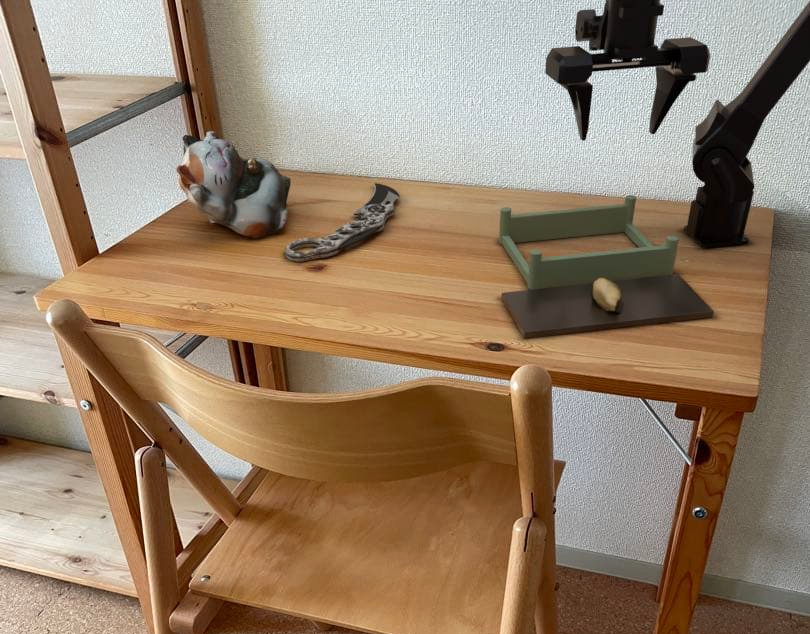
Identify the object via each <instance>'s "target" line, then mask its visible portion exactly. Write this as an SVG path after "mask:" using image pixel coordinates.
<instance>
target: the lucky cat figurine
mask: <svg viewBox="0 0 810 634" xmlns="http://www.w3.org/2000/svg"><path fill="white" fill-rule="evenodd" d="M182 141H183V148H182V149H183V155H182V156H183V157H182V159H183V160H182V162H181V165H180V164H179V165H178V166H176V172H177V173H178V184H179V187H180V189H181V190H182V191H183V193H185V196H186V198H187V201H188V202H189V204H191V205H192V206H193V208H195V209H196V210H197V211H198V212H199V213H201V214H203V215H204V216H206V217H207V219H208V220H209V223H210V224H213V223H214V224H215V223H216V224H219V225H221V226H224V227H227V228H229V229H231V230H233V231H234V232H236V233H237V234H240V235H243V236H245V237H247V238H250V239H254V240H256V239H260V238H264V237H268V236H273V235H274V234H275V233H277V231H278V230H280V229H283V227H284V225H285V224H286V222H287V220H288V217H289V216H288V215H289V214H288V213H289V210H288V208H287V202H288V198H289V193H290V189H291V185H292V184H291V183H292V182H291V181H292V180H291V177H288V176H286V175H282V174H281V173H280V172H279V170H278V169H277V168H276V167H275V165H274V164H273V163H272V162H270V161H269V160H267V159H265V158H262V157H250V158H249V157H248V158H243V157H241V156H240V154H239V153H238V151H237V149H236V147H235V146H234V145H233V144H232V143H231V142H230V141H228V140H225V139H221V138H220V137H219V136H218V134H217V133H216V131H213V130H209V131H207V132H206V135H205V136H204V138H203V139H200V138H198V137H195V136H193V135H190V134H184V135H182Z"/></svg>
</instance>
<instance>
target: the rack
mask: <svg viewBox="0 0 810 634" xmlns="http://www.w3.org/2000/svg"><path fill="white" fill-rule="evenodd" d="M636 203H637V196H635V195H633V194H630V195H629V194H628V195H625V197H624V203H620V204H609V205H597V206H588V207H587V206H586V207H579V208H578V207H577V208H567V209H557V210H547V211H537V212H526V213H525V212H524V213H514V214H512V208H511V207H508V206H504V207H501V208H500V211H499V212H500V213H499V218H500V219H499V234H498V236H499V237H498V243H499V244H500V245H502V246H503V248H504V250H505V251H506V253H507V254H508V256H509V257H510V259H511V261H512V263H513V264H514V265H515V267H516V268H517V271H519V273H520V275H521V276H522V278H523V279H524V281H525V282H526V285H527V290H533V289H542V288H552V287H561V286H571V285H580V284H589V283H594V282H595V281H596V280H598V279H599V278H605V279H607V280H609V281H618V280H627V279H637V278H646V277H655V276H665V275H674V268H675V263H676V257H677V252H678V248H679V247H678V246H679V242H680V237H678V236H676V235H669V236H667V237H666V241H665V244H662V245H654V244H653V243H652V242H651V241H650V240H649V239H648V238H647V237H646V236H645V235H644V234H643V233H642V232H641V230H639V228H638V227H636V226H635V225H634V216H635V210H636V209H635V208H636ZM619 233H625V234H626V236H627V237H628V238H629V239H630V240H631V241H632V242H633V243H634V244H635V245H636V247H633V248H622V249H614V250H604V251H603V250H602V251H594V252H585V253H583V252H582V253H574V254H565V255H554V256H543V257H542V255H543V251H542V250H541V249H532V250H530V251H529V259H528V260H529V262H527V260H526V259H525V257H524V256H523V254H522V253H521V251H520V250H519V248H518V247H517V244H518V243H528V242H537V241H538V242H539V241H547V240H549V241H550V240H559V239H568V238H577V237H588V236H596V235H597V236H598V235H606V234H607V235H608V234H619Z"/></svg>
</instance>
